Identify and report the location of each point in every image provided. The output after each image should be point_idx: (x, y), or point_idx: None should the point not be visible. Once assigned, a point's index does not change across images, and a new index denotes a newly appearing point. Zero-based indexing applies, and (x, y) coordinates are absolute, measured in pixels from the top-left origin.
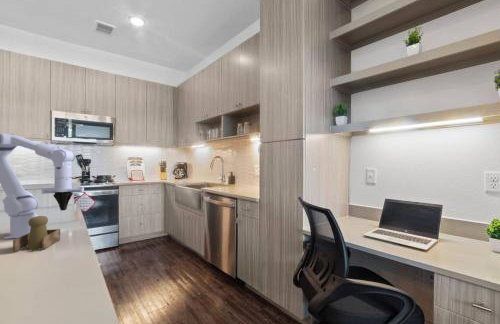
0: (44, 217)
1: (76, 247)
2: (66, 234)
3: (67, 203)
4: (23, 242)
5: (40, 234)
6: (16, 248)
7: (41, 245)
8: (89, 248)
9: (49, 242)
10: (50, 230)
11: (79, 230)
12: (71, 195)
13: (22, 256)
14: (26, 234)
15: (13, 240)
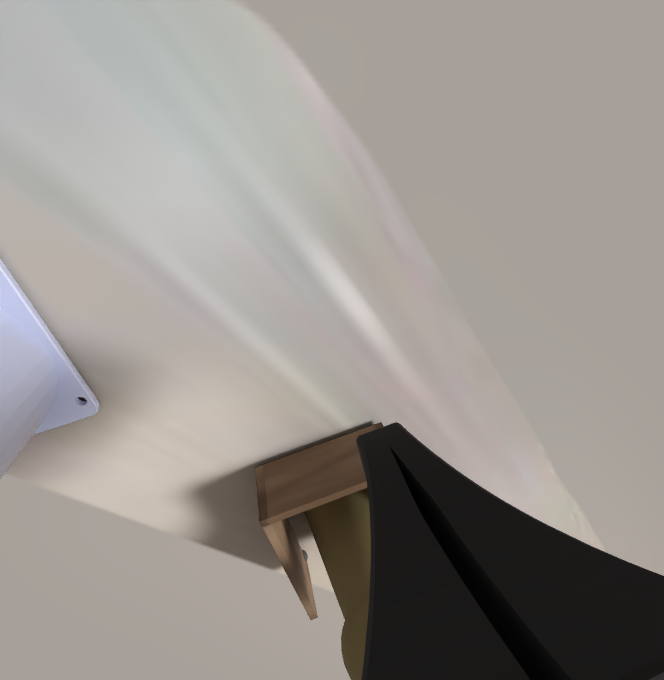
0: None
1: (505, 473)
2: (332, 317)
3: (452, 478)
4: (294, 550)
5: None
6: (307, 567)
7: None
8: (554, 472)
9: None
10: (358, 488)
11: (362, 209)
12: (641, 588)
13: None
14: (289, 568)
15: (312, 617)
